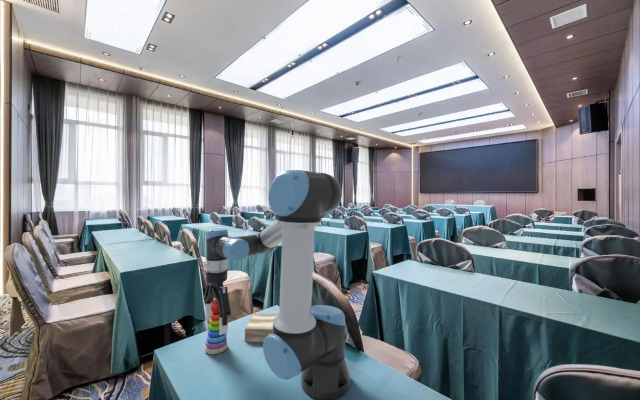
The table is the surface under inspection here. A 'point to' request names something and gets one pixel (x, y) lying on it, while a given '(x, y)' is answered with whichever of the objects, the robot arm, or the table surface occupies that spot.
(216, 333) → the stacking toy
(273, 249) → the robot arm
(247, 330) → the plinth
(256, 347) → the table surface
